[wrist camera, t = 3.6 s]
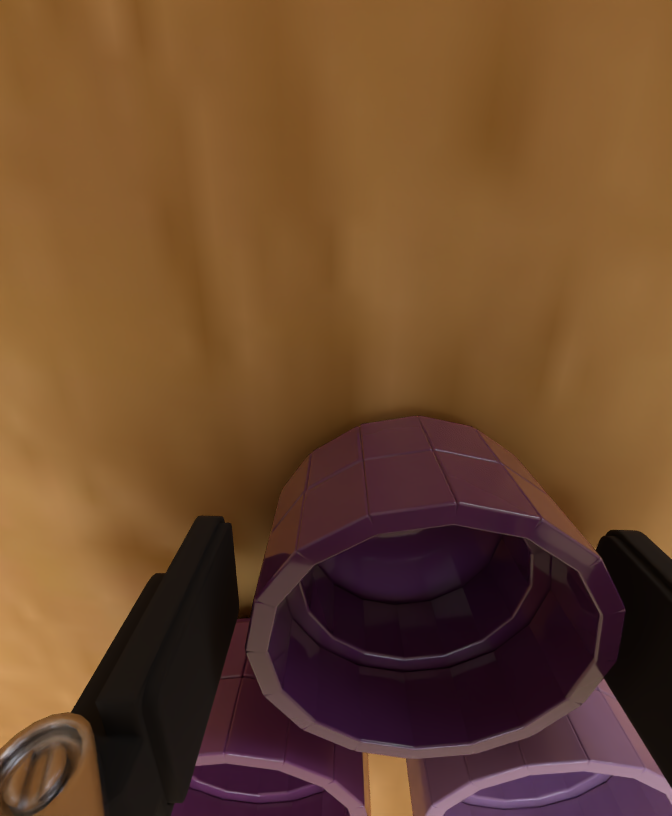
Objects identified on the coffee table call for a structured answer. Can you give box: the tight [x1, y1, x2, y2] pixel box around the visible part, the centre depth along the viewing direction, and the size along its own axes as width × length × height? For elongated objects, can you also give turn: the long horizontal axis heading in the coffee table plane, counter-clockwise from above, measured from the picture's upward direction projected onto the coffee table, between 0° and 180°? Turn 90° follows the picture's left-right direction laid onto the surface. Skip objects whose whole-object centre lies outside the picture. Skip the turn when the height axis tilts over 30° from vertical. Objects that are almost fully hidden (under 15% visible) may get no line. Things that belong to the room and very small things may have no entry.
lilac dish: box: [406, 679, 672, 816], centre depth 11 cm, size 7×7×4 cm
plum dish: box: [171, 618, 371, 816], centre depth 11 cm, size 7×7×4 cm
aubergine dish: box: [245, 416, 626, 759], centre depth 9 cm, size 7×7×4 cm
